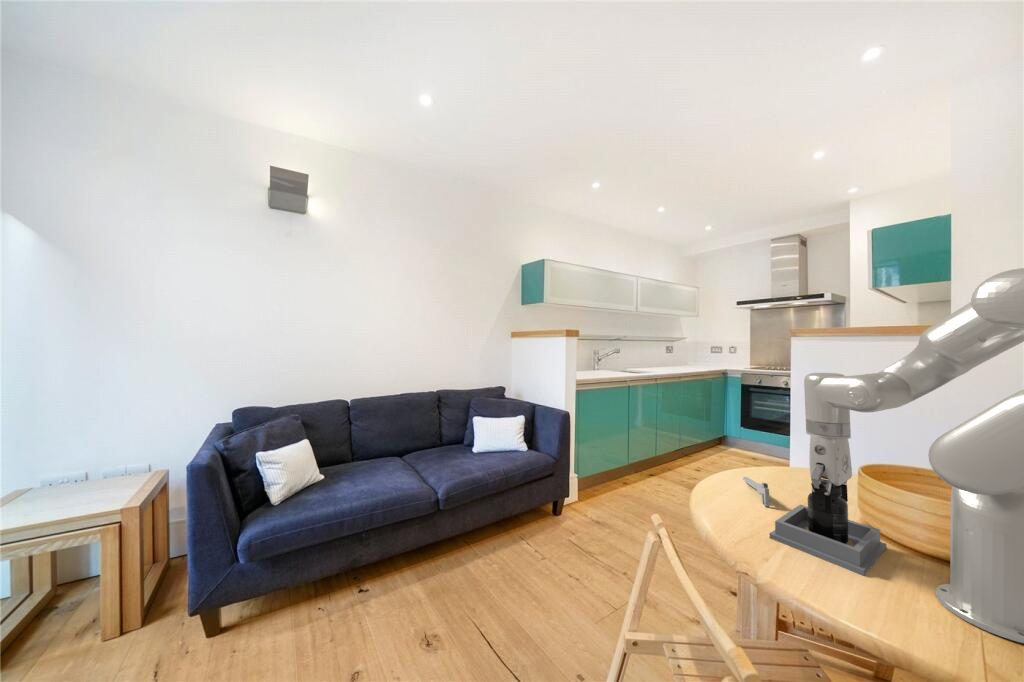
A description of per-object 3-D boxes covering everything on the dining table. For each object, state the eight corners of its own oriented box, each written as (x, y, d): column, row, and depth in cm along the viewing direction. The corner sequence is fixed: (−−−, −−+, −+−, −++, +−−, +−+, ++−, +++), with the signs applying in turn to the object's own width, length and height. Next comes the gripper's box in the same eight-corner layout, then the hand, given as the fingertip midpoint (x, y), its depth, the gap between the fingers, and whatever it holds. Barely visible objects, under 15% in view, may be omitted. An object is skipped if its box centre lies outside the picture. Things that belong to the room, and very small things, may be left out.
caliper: (769, 508, 98) (769, 485, 98) (765, 508, 98) (765, 485, 98) (746, 479, 117) (746, 460, 117) (742, 479, 118) (742, 460, 118)
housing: (886, 548, 79) (886, 530, 79) (864, 575, 70) (864, 555, 70) (797, 517, 92) (797, 502, 92) (769, 537, 84) (769, 520, 84)
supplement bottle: (844, 534, 82) (844, 482, 82) (851, 550, 76) (852, 493, 76) (805, 526, 86) (805, 476, 86) (810, 540, 80) (810, 486, 80)
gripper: (835, 438, 73) (839, 524, 73) (862, 426, 82) (865, 501, 82) (791, 431, 79) (794, 510, 79) (820, 420, 89) (823, 491, 88)
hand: (830, 505), depth 80 cm, fingers open, 9 cm apart
